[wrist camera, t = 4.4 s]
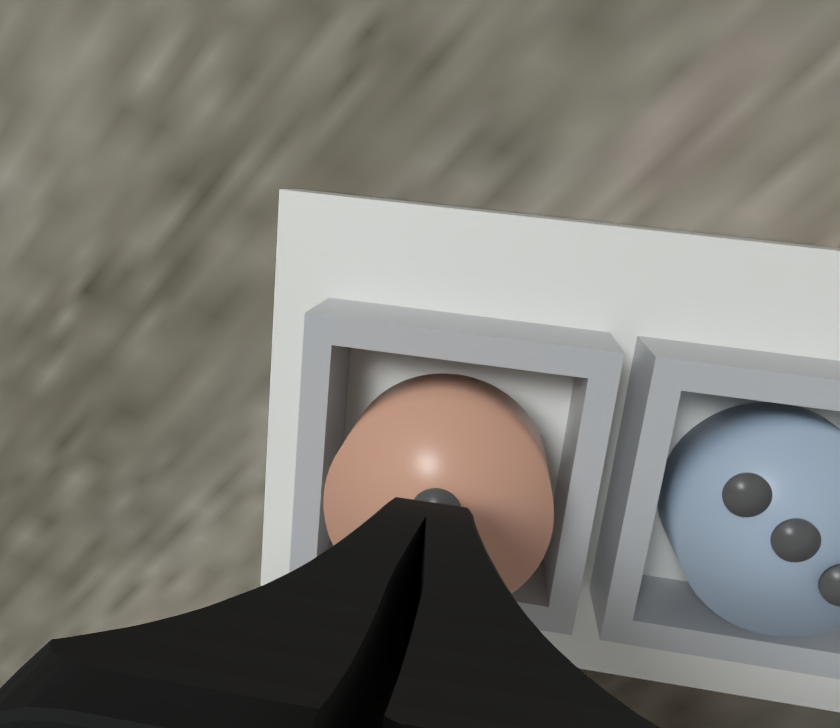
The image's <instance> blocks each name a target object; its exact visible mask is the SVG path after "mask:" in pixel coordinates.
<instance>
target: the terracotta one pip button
mask: <svg viewBox="0 0 840 728" xmlns="http://www.w3.org/2000/svg"><path fill="white" fill-rule="evenodd" d="M395 497H399V498H406V499H413V500H420V501H426V502H433V503H440V504H446V505H453V506H460V507H467V508H468V509H469V510H470V512H471V513H472V514H473V518H474V522H475V525H476V528H477V530H478V533H479V535H480V538H481V540H482V542H483V545H484V547H485V549H486V551H487V553H488V555H489V557H490V559H491V560H492V562H493V564H494V566H495V568H496V570H497V571H498V573H499V575H500V577H501V578H502V580H503V582H504V583H505V585H506V586H507V588H508V589H509V591H510V592H511V594H512V593H513V592H515V591H516V590H518V589H519V588H520V587H521V586H522V585H523V584H524V583H525V582H526V581H527V580H528V579H529V578H530V577H531V576H532V574H533V573H534V572H535V571H536V569H537V568H538V566H539V564H540V563H541V561H542V559H543V558H544V556H545V553H546V551H547V548H548V546H549V544H550V539H551V535H552V531H553V523H554V503H553V495H552V489H551V482H550V475H549V468H548V462H547V456H546V451H545V447H544V444H543V441H542V438H541V435H540V433H539V432H538V430H537V428H536V426H535V424H534V422H533V421H532V419H531V418H530V417H529V415H528V414H527V412H526V411H525V410H524V409H523V408H522V407H521V406H520V405H519V404H518V403H517V402H516V401H515V400H514V399H513V398H511V397H510V396H509V395H508V394H506V393H505V392H503V391H502V390H500V389H498V388H497V387H495V386H493V385H491V384H489V383H487V382H485V381H482V380H479V379H476V378H473V377H469V376H464V375H459V374H449V373H437V374H427V375H422V376H417V377H413V378H410V379H407V380H404V381H402V382H400V383H398V384H396V385H394V386H392V387H390V388H389V389H387V390H386V391H384V392H383V393H381V394H380V395H379V396H378V397H377V398H376V399H375V400H373V401H372V402H371V403H370V405H369V406H368V407H367V408H366V409H365V410H364V412H363V413H362V415H361V416H360V418H359V419H358V421H357V423H356V424H355V426H354V427H353V429H352V430H351V432H350V434H349V435H348V437H347V438H346V440H345V441H344V443H343V444H342V446H341V448H340V449H339V451H338V452H337V454H336V455H335V457H334V460H333V462H332V464H331V466H330V468H329V471H328V475H327V478H326V482H325V488H324V495H323V509H324V517H325V523H326V527H327V530H328V534H329V537H330V539H331V542H332V544H333V546H334V545H335V544H337V543H338V542H339V541H341V540H342V539H343V538H345V537H346V536H347V535H349V534H350V533H351V532H353V531H354V530H355V529H356V528H358V527H359V526H360V525H362V524H363V523H364V522H365V521H366V520H368V519H369V518H370V517H371V516H373V515H374V514H375V513H376V512H377V511H378V510H380V509H381V508H382V507H383V506H384V505H386V504H387V503H388V502H389V501H391V500H392V499H394V498H395Z"/></svg>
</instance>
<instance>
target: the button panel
mask: <svg viewBox="0 0 840 728" xmlns="http://www.w3.org/2000/svg"><path fill="white" fill-rule="evenodd" d="M437 373H449V374H459V375H464V376H469V377H473V378H476V379H479V380H482V381H485V382H487V383H489V384H491V385H493V386H495V387H497V388H498V389H500V390H502V391H503V392H505V393H506V394H508V395H509V396H510V397H511V398H513V399H514V400H515V401H516V402H517V403H518V404H519V405H520V406H521V407H522V408H523V409H524V410H525V411H526V412H527V414H528V415H529V417H530V418H531V419H532V421H533V422H534V424H535V426H536V428H537V430H538V432H539V433H540V435H541V438H542V441H543V444H544V447H545V451H546V456H547V462H548V468H549V475H550V482H551V489H552V495H553V503H554V523H553V531H552V535H551V539H550V544H549V546H548V548H547V551H546V553H545V556H544V558H543V559H542V561H541V563H540V564H539V566H538V568H537V569H536V571H535V572H534V573H533V574H532V576H531V577H530V578H529V579H528V580H527V581H526V582H525V583H524V584H523V585H522V586H521V587H520V588H519V589H518V590H516V591H515V592H513V593H512V595H513V597H514V598H515V600H516V601H517V603H518V604H519V606H520V607H521V608H522V610H523V611H524V613H525V614H526V615H527V616H528V618H529V619H530V620H531V621H532V622H533V623H534V625H535V626H536V627H537V628H538V629H539V630H540V632H541V633H542V634H543V635H544V636H545V637H546V638H547V639H548V640H549V641H550V642H551V643H552V644H553V645H554V646H555V647H556V648H557V649H558V650H559V651H560V652H561V653H562V654H563V655H564V656H565V657H567V658H568V659H569V660H570V661H571V662H572V663H573V664H574V665H575V666H576V667H577V668H580V669H585V670H591V671H597V672H603V673H609V674H615V675H621V676H627V677H633V678H639V679H645V680H651V681H657V682H663V683H669V684H674V685H680V686H686V687H692V688H698V689H704V690H710V691H716V692H722V693H728V694H734V695H740V696H746V697H752V698H758V699H763V700H769V701H775V702H781V703H787V704H793V705H799V706H805V707H811V708H817V709H823V710H829V711H835V712H840V628H838V629H835V630H832V631H829V632H825V633H820V634H816V635H810V636H801V637H780V636H770V635H765V634H760V633H756V632H752V631H749V630H746V629H743V628H740V627H738V626H736V625H734V624H732V623H730V622H728V621H726V620H725V619H723V618H722V617H720V616H719V615H717V614H716V613H714V612H713V611H712V610H711V609H710V608H709V607H707V606H706V605H705V604H704V603H703V602H702V600H701V599H700V598H699V597H698V596H697V595H696V593H695V592H694V590H693V589H692V587H691V586H690V584H689V582H688V580H687V578H686V576H685V574H684V572H683V570H682V568H681V565H680V563H679V561H678V559H677V557H676V554H675V552H674V550H673V548H672V546H671V544H670V541H669V539H668V537H667V535H666V533H665V531H664V528H663V526H662V523H661V520H660V517H659V511H658V505H657V504H658V499H659V494H660V490H661V485H662V480H663V475H664V471H665V466H666V461H667V458H668V456H669V455H670V453H671V451H672V450H673V448H674V447H675V446H676V444H677V443H678V442H679V441H680V440H681V438H682V437H683V436H684V435H685V434H686V433H688V432H689V431H690V430H691V429H692V428H693V427H695V426H696V425H697V424H699V423H700V422H701V421H703V420H705V419H706V418H708V417H710V416H712V415H713V414H715V413H718V412H720V411H723V410H725V409H728V408H731V407H734V406H738V405H742V404H748V403H754V402H772V403H780V404H788V405H795V406H799V407H802V408H805V409H808V410H811V411H813V412H815V413H817V414H819V415H821V416H822V417H824V418H826V419H827V420H829V421H830V422H832V423H833V424H834V425H836V426H837V427H839V428H840V248H831V247H822V246H813V245H804V244H795V243H785V242H776V241H767V240H758V239H749V238H740V237H731V236H722V235H712V234H703V233H694V232H685V231H676V230H667V229H658V228H649V227H639V226H630V225H621V224H612V223H603V222H594V221H585V220H576V219H566V218H557V217H548V216H539V215H530V214H521V213H512V212H502V211H493V210H484V209H475V208H466V207H457V206H448V205H439V204H429V203H420V202H411V201H402V200H393V199H384V198H375V197H366V196H356V195H347V194H338V193H329V192H320V191H311V190H302V189H280V191H279V212H278V233H277V254H276V274H275V295H274V316H273V337H272V358H271V379H270V400H269V421H268V442H267V463H266V484H265V505H264V526H263V546H262V567H261V586H263V585H265V584H267V583H269V582H271V581H273V580H275V579H277V578H279V577H281V576H284V575H286V574H288V573H290V572H291V571H293V570H295V569H297V568H299V567H301V566H302V565H304V564H306V563H308V562H309V561H311V560H312V559H314V558H316V557H317V556H319V555H320V554H322V553H323V552H325V551H326V550H328V549H329V548H331V547H332V546H333V544H332V542H331V539H330V537H329V534H328V530H327V527H326V523H325V517H324V509H323V495H324V488H325V482H326V478H327V475H328V471H329V468H330V466H331V464H332V462H333V460H334V457H335V455H336V454H337V452H338V451H339V449H340V448H341V446H342V444H343V443H344V441H345V440H346V438H347V437H348V435H349V434H350V432H351V430H352V429H353V427H354V426H355V424H356V423H357V421H358V419H359V418H360V416H361V415H362V413H363V412H364V410H365V409H366V408H367V407H368V406H369V405H370V403H371V402H372V401H373V400H375V399H376V398H377V397H378V396H379V395H380V394H381V393H383V392H384V391H386V390H387V389H389V388H390V387H392V386H394V385H396V384H398V383H400V382H402V381H404V380H407V379H410V378H413V377H417V376H422V375H427V374H437Z"/></svg>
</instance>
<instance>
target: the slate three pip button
mask: <svg viewBox="0 0 840 728" xmlns="http://www.w3.org/2000/svg"><path fill="white" fill-rule="evenodd" d="M657 505H658V511H659V517H660V520H661V523H662V526H663V528H664V531H665V533H666V535H667V537H668V539H669V541H670V544H671V546H672V548H673V550H674V552H675V554H676V557H677V559H678V561H679V563H680V565H681V568H682V570H683V572H684V574H685V576H686V578H687V580H688V582H689V584H690V586H691V587H692V589H693V590H694V592H695V593H696V595H697V596H698V597H699V598H700V599H701V600H702V602H703V603H704V604H705V605H706V606H707V607H709V608H710V609H711V610H712V611H713V612H714V613H716V614H717V615H719V616H720V617H722V618H723V619H725V620H726V621H728V622H730V623H732V624H734V625H736V626H738V627H740V628H743V629H746V630H749V631H752V632H756V633H760V634H765V635H770V636H780V637H801V636H810V635H816V634H820V633H825V632H829V631H832V630H835V629H838V628H840V428H839V427H837V426H836V425H834V424H833V423H832V422H830V421H829V420H827V419H826V418H824V417H822V416H821V415H819V414H817V413H815V412H813V411H811V410H808V409H805V408H802V407H799V406H795V405H788V404H780V403H772V402H754V403H748V404H742V405H738V406H734V407H731V408H728V409H725V410H723V411H720V412H718V413H715V414H713V415H712V416H710V417H708V418H706V419H705V420H703V421H701V422H700V423H699V424H697V425H696V426H695V427H693V428H692V429H691V430H690V431H689V432H688V433H686V434H685V435H684V436H683V437H682V438H681V440H680V441H679V442H678V443H677V444H676V446H675V447H674V448H673V450H672V451H671V453H670V455H669V456H668V458H667V461H666V466H665V471H664V475H663V480H662V485H661V490H660V494H659V499H658V504H657Z"/></svg>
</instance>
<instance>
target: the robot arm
mask: <svg viewBox="0 0 840 728" xmlns="http://www.w3.org/2000/svg"><path fill="white" fill-rule="evenodd" d="M0 728H659V727H658V726H656V725H655V724H653V723H651V722H650V721H648V720H646V719H645V718H643V717H641V716H640V715H638V714H637V713H635V712H634V711H632V710H631V709H630V708H628V707H627V706H626V705H624V704H623V703H622V702H620V701H619V700H617V699H616V698H615V697H613V696H612V695H611V694H609V693H608V692H607V691H605V690H604V689H603V688H601V687H600V686H599V685H598V684H596V683H595V682H594V681H593V680H591V679H590V678H589V677H588V676H587V675H585V674H584V673H583V672H582V671H581V670H579V669H578V668H577V667H576V666H575V665H574V664H573V663H572V662H571V661H570V660H569V659H568V658H567V657H565V656H564V655H563V654H562V653H561V652H560V651H559V650H558V649H557V648H556V647H555V646H554V645H553V644H552V643H551V642H550V641H549V640H548V639H547V638H546V637H545V636H544V635H543V634H542V633H541V632H540V630H539V629H538V628H537V627H536V626H535V625H534V623H533V622H532V621H531V620H530V619H529V618H528V616H527V615H526V614H525V613H524V611H523V610H522V608H521V607H520V606H519V604H518V603H517V601H516V600H515V598H514V597H513V595H512V594H511V592H510V591H509V589H508V588H507V586H506V585H505V583H504V582H503V580H502V578H501V577H500V575H499V573H498V571H497V570H496V568H495V566H494V564H493V562H492V560H491V559H490V557H489V555H488V553H487V551H486V549H485V547H484V545H483V542H482V540H481V538H480V535H479V533H478V530H477V528H476V525H475V522H474V518H473V514H472V513H471V512H470V510H469V509H468V508H467V507H460V506H453V505H446V504H440V503H433V502H426V501H420V500H413V499H406V498H399V497H395V498H394V499H392V500H391V501H389V502H388V503H387V504H386V505H384V506H383V507H382V508H381V509H380V510H378V511H377V512H376V513H375V514H374V515H373V516H371V517H370V518H369V519H368V520H366V521H365V522H364V523H363V524H362V525H360V526H359V527H358V528H356V529H355V530H354V531H353V532H351V533H350V534H349V535H347V536H346V537H345V538H343V539H342V540H341V541H339V542H338V543H337V544H335V545H334V546H332V547H331V548H329V549H328V550H326V551H325V552H323V553H322V554H320V555H319V556H317V557H316V558H314V559H312V560H311V561H309V562H308V563H306V564H304V565H302V566H301V567H299V568H297V569H295V570H293V571H291V572H290V573H288V574H286V575H284V576H281V577H279V578H277V579H275V580H273V581H271V582H269V583H267V584H265V585H263V586H260V587H258V588H256V589H253V590H251V591H248V592H245V593H243V594H240V595H237V596H235V597H232V598H229V599H227V600H224V601H221V602H219V603H216V604H213V605H211V606H208V607H205V608H202V609H198V610H195V611H191V612H188V613H185V614H181V615H178V616H174V617H170V618H166V619H162V620H158V621H154V622H150V623H146V624H141V625H136V626H132V627H127V628H121V629H115V630H109V631H103V632H97V633H92V634H86V635H80V636H74V637H67V638H60V639H52V640H51V641H49V642H48V643H47V644H46V645H45V646H44V647H43V648H42V649H41V650H39V651H38V652H37V653H36V654H35V655H34V656H33V657H32V658H31V659H30V660H29V661H28V662H27V663H25V664H24V665H23V666H22V667H21V668H20V669H19V670H18V671H17V672H16V673H15V674H14V675H13V676H12V677H11V678H10V679H9V680H8V681H7V682H6V683H5V684H4V685H3V686H2V687H1V688H0Z"/></svg>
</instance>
